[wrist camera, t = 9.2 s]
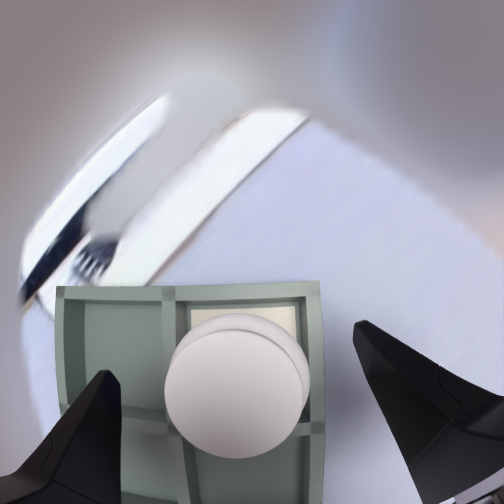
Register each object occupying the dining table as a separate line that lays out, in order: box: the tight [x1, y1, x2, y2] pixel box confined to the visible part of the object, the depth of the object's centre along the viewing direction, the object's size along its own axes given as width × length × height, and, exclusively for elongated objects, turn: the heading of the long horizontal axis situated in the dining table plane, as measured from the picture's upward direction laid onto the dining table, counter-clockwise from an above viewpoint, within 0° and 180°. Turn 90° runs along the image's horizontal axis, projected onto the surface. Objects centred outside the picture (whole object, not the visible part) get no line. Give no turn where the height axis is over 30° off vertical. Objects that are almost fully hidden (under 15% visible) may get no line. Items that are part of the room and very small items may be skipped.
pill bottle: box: [164, 313, 310, 459], centre depth 12 cm, size 5×5×10 cm
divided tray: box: [55, 280, 325, 504], centre depth 14 cm, size 16×16×3 cm
